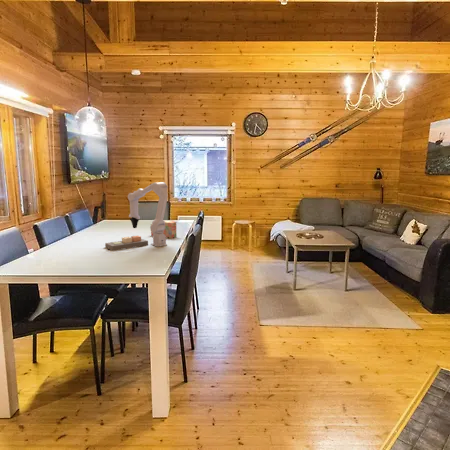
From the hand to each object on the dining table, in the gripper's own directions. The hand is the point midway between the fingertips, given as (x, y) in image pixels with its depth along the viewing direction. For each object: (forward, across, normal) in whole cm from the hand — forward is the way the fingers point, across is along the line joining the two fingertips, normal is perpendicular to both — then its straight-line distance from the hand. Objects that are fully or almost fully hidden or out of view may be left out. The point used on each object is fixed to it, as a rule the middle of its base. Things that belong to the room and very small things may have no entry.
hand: (134, 227), depth 257 cm
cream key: (+8, +10, -11) cm, 17 cm away
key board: (+10, +10, -11) cm, 18 cm away
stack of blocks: (+11, -6, +27) cm, 29 cm away
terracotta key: (+8, +10, -4) cm, 13 cm away
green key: (+10, +10, -18) cm, 23 cm away
